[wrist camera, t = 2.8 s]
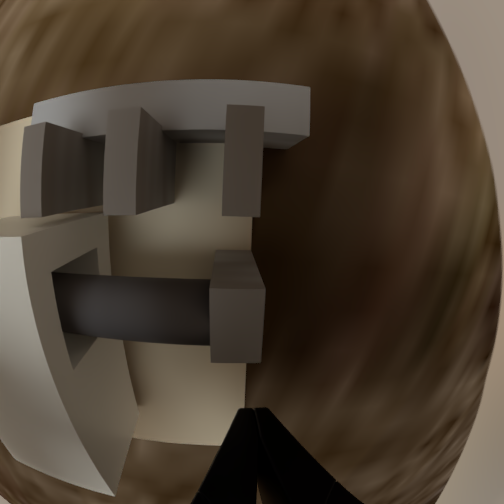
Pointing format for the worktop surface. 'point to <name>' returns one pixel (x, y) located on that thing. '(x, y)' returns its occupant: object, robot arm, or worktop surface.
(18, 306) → the sleeve
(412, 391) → the worktop surface
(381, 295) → the worktop surface
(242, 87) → the cable comb
